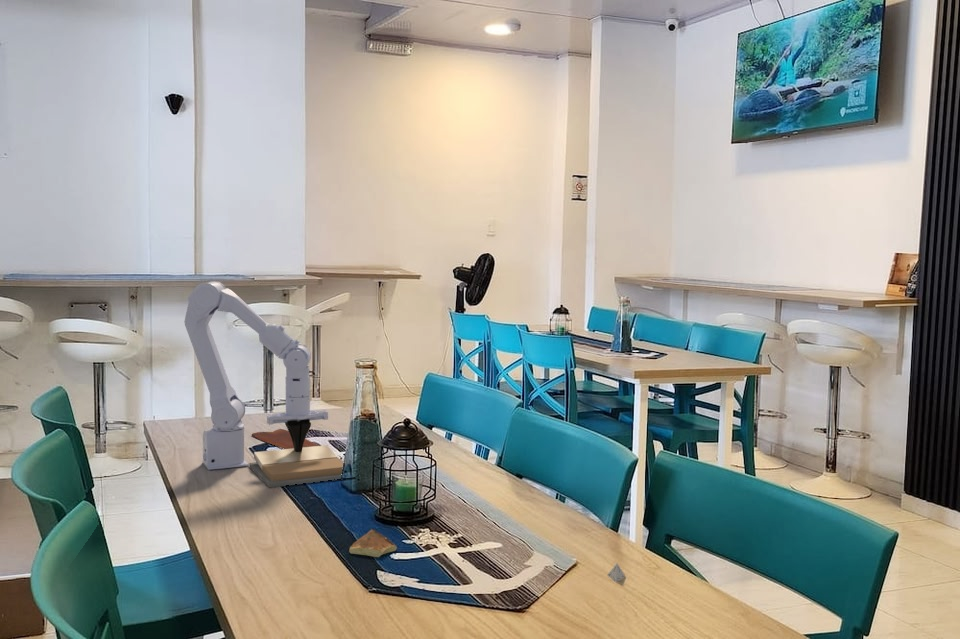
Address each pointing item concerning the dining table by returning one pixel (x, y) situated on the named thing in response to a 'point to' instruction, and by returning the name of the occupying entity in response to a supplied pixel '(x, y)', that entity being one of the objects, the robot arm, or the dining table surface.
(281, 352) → the robot arm
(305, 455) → the ash plank
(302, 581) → the dining table surface
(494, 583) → the dining table surface
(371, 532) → the shard
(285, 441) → the wooden tablet
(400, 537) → the dining table surface
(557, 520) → the dining table surface
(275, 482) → the floor base
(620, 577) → the tetrahedral die
